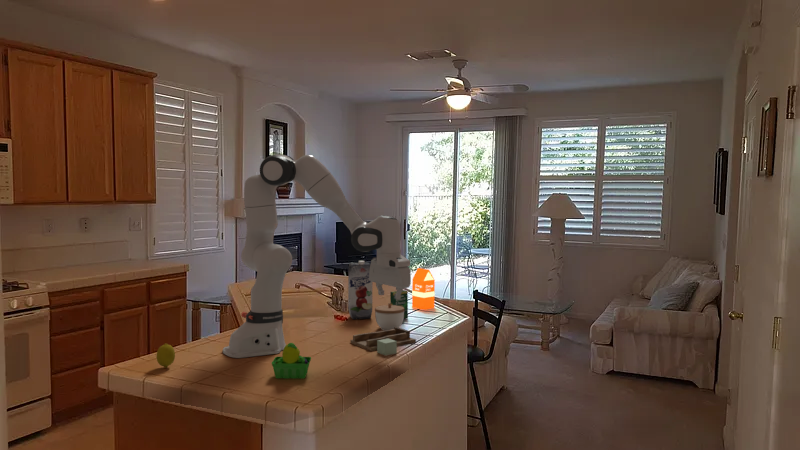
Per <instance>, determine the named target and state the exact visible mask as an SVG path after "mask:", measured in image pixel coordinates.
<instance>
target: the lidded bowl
mask: <svg viewBox="0 0 800 450" xmlns="http://www.w3.org/2000/svg"><path fill="white" fill-rule="evenodd" d="M374 311H375V312H374V315H375V316H374V317H375V321H376V323H377V325H378V327H379V328H380V329H381V331H385V330H391V329H394V327H398V328H401V326H402V324H403V322H404V320H405V319H404V307H402V306H397V305H391V302H389V303H388V304H384V305H383V304H382V305H379V306H375V308H374Z"/></svg>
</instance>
